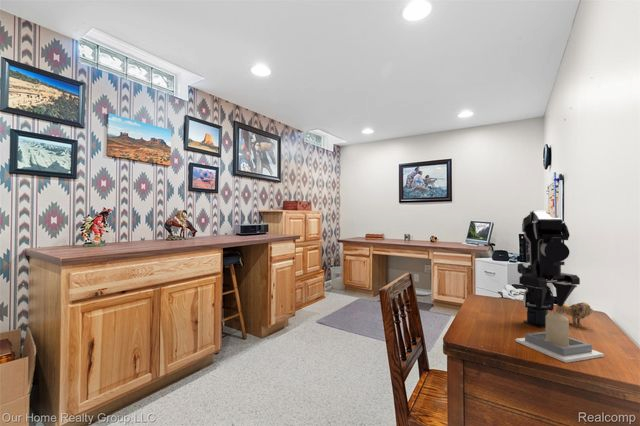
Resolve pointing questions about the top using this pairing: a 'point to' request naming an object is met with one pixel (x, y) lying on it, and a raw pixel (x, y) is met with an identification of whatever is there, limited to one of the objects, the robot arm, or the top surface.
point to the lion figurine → (576, 311)
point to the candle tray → (560, 348)
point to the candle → (557, 329)
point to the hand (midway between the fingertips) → (549, 307)
